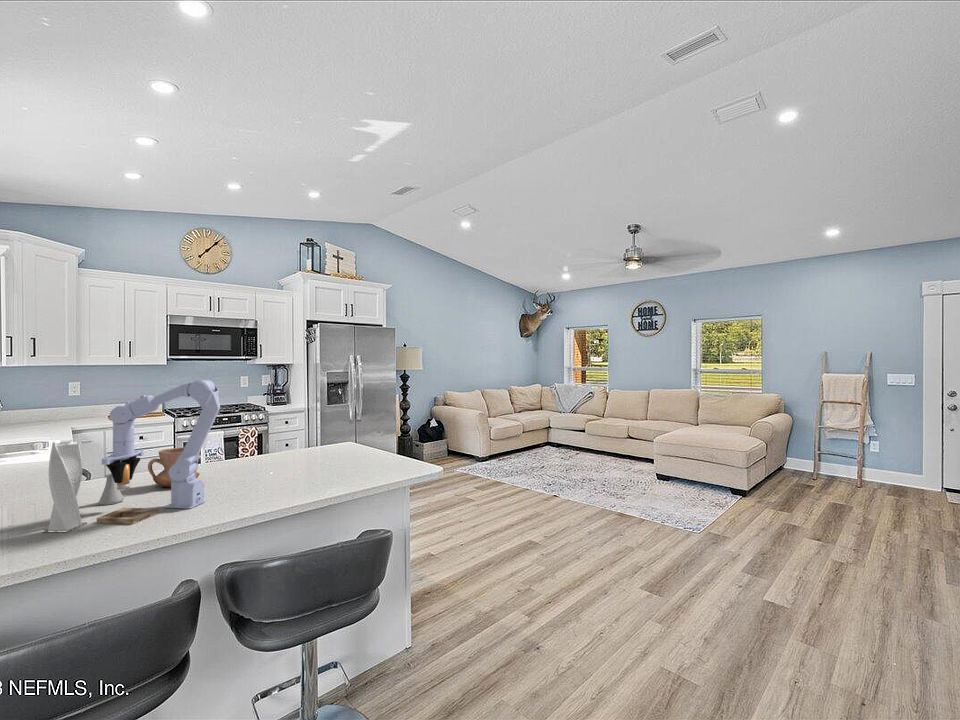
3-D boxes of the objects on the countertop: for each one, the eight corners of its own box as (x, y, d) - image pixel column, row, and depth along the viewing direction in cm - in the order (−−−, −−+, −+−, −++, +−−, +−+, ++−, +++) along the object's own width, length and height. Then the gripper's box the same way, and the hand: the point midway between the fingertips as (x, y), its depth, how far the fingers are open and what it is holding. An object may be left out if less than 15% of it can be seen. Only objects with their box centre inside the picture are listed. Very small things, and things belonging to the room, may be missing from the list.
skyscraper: (91, 523, 141) (92, 433, 141) (69, 533, 133) (69, 437, 133) (63, 523, 141) (64, 432, 141) (39, 533, 133) (39, 437, 133)
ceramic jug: (203, 478, 195) (203, 444, 195) (199, 487, 182) (199, 451, 182) (151, 482, 187) (152, 448, 187) (143, 492, 174) (144, 455, 174)
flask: (93, 506, 158) (93, 477, 158) (104, 500, 165) (104, 472, 165) (117, 504, 160) (118, 476, 160) (127, 498, 167) (128, 471, 167)
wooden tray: (158, 513, 151) (158, 508, 151) (132, 524, 141) (132, 519, 141) (123, 512, 152) (123, 507, 152) (96, 522, 142) (96, 518, 142)
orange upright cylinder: (132, 487, 157) (132, 463, 157) (123, 489, 154) (123, 466, 154) (122, 486, 157) (122, 463, 157) (114, 489, 154) (114, 465, 154)
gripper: (130, 437, 163) (130, 475, 163) (92, 444, 148) (92, 486, 148) (149, 437, 162) (148, 475, 162) (113, 445, 148) (113, 487, 148)
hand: (123, 481), depth 155 cm, fingers closed on orange upright cylinder, 3 cm apart
